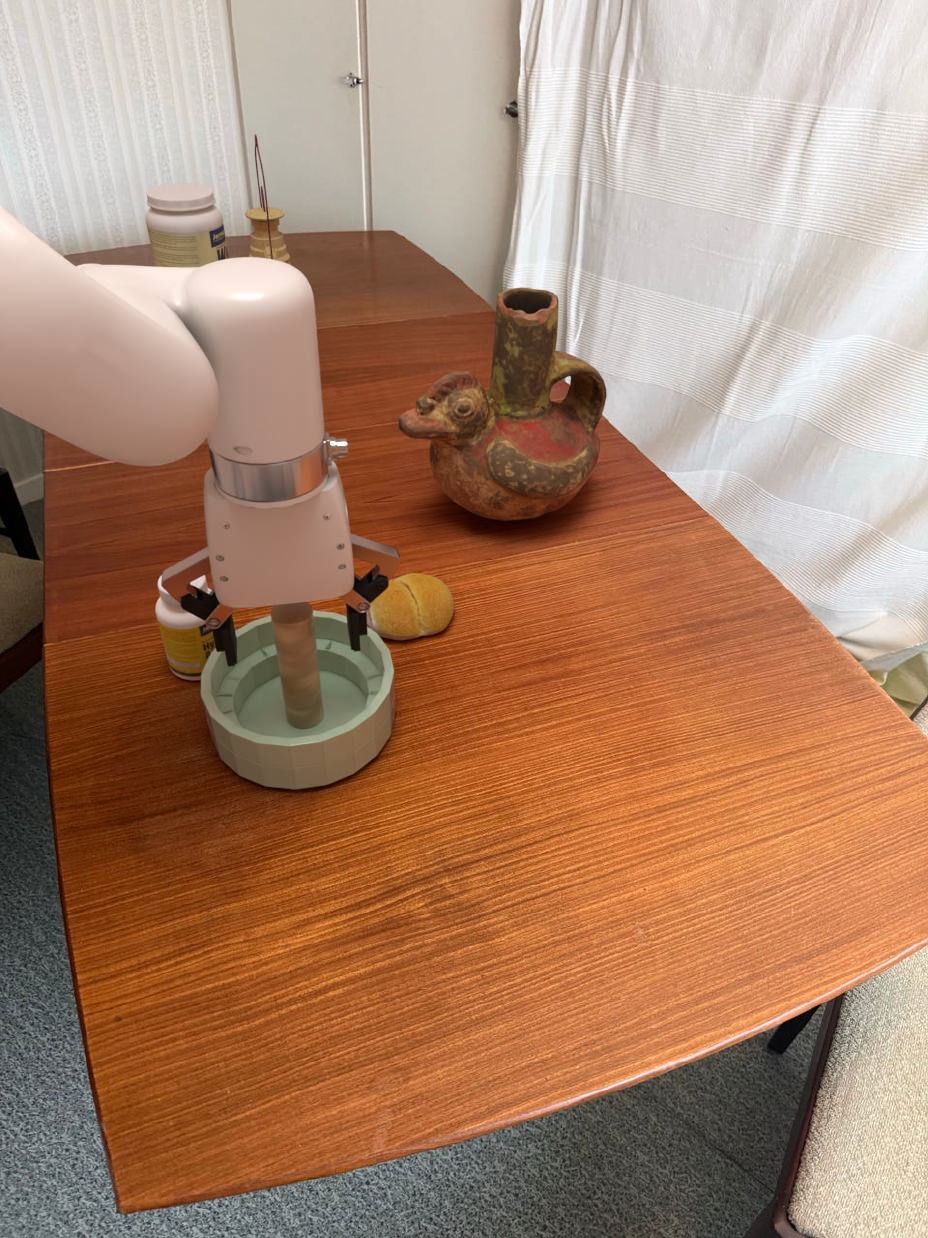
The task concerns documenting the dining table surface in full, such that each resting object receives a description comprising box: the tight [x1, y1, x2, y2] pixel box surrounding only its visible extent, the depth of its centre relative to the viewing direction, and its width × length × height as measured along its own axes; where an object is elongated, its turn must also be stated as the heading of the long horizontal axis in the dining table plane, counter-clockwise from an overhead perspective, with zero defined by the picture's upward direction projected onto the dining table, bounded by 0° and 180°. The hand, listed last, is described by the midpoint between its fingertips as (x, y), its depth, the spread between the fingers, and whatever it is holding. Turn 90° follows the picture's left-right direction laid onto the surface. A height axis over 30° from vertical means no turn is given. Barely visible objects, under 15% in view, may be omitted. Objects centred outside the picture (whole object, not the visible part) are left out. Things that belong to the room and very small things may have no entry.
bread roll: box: [367, 572, 455, 641], centre depth 82 cm, size 8×9×4 cm
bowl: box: [200, 609, 396, 790], centre depth 70 cm, size 16×16×6 cm
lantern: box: [244, 133, 292, 266], centre depth 117 cm, size 12×10×30 cm
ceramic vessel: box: [397, 287, 608, 522], centre depth 90 cm, size 17×26×25 cm, turn 121°
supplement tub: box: [145, 182, 230, 267], centre depth 138 cm, size 12×12×17 cm
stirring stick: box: [270, 602, 324, 729], centre depth 68 cm, size 3×3×12 cm
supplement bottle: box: [154, 574, 216, 681], centre depth 74 cm, size 5×5×10 cm
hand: (294, 646), depth 67 cm, fingers open, 9 cm apart
